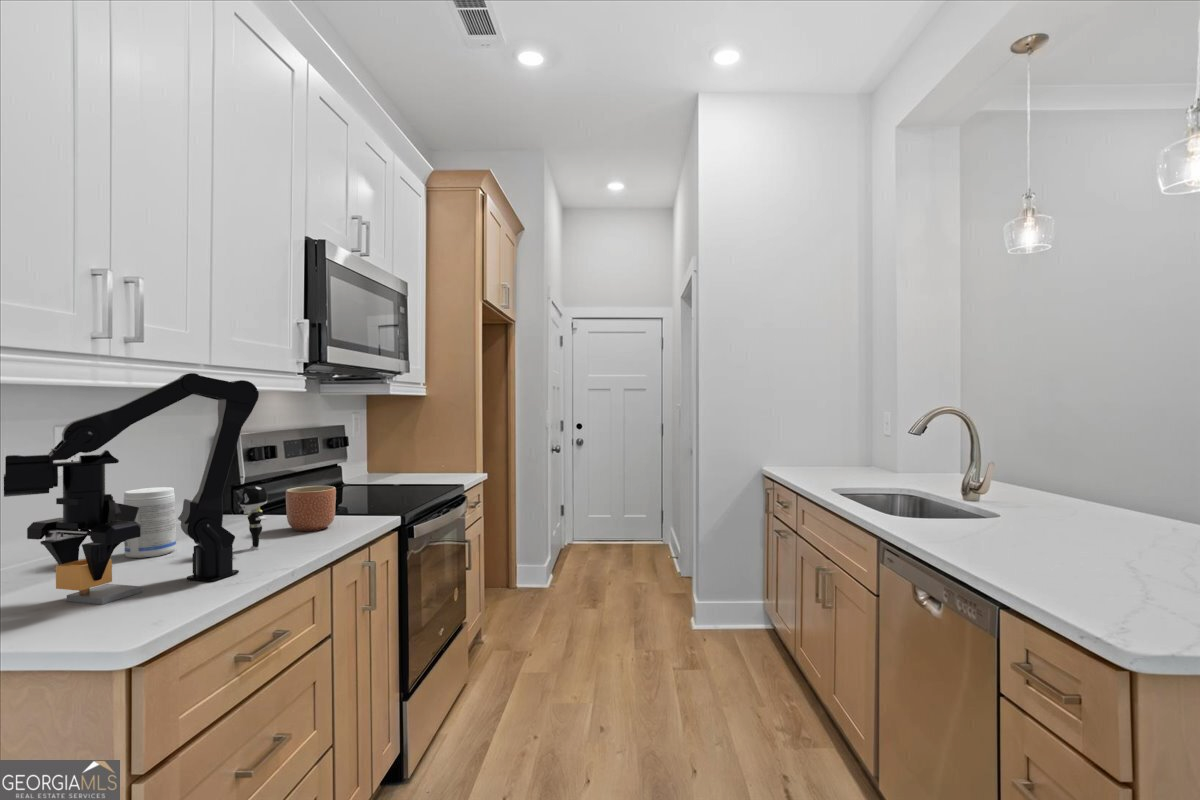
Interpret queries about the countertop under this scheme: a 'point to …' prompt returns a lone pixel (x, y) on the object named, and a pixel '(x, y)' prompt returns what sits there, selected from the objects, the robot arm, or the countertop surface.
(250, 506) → the toy
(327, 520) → the planter
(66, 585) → the open tan tray box
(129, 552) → the supplement tub
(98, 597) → the grey base with peg
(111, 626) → the countertop surface
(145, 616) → the countertop surface
